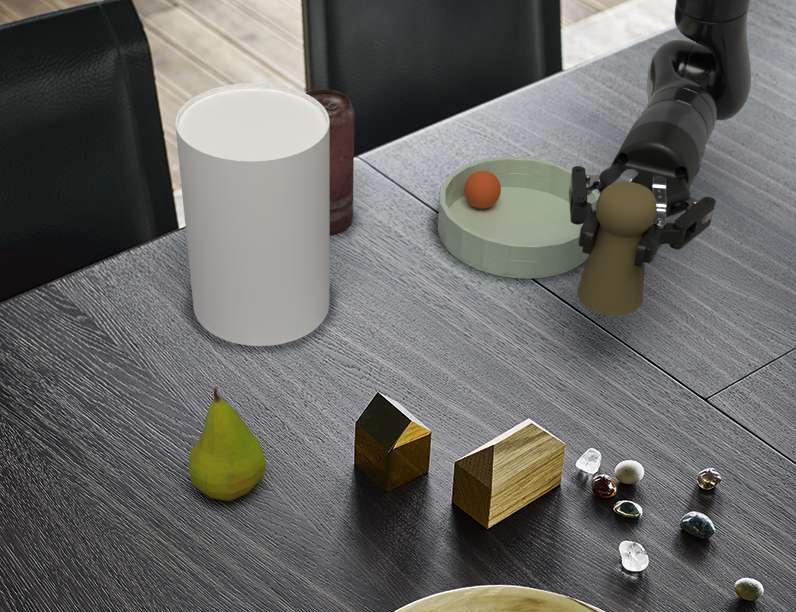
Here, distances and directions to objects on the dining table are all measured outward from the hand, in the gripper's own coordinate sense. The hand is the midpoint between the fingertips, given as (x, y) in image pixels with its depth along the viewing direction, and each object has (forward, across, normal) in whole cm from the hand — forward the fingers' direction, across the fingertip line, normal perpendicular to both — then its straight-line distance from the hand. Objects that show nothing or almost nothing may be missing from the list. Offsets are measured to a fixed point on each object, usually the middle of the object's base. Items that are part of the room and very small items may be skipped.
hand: (613, 251), depth 108 cm
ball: (-23, -19, +12) cm, 32 cm away
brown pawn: (-3, 0, +7) cm, 7 cm away
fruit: (+27, -24, +15) cm, 39 cm away
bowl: (-21, -14, +15) cm, 29 cm away
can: (-14, -34, +15) cm, 39 cm away
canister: (+2, -33, +15) cm, 37 cm away
